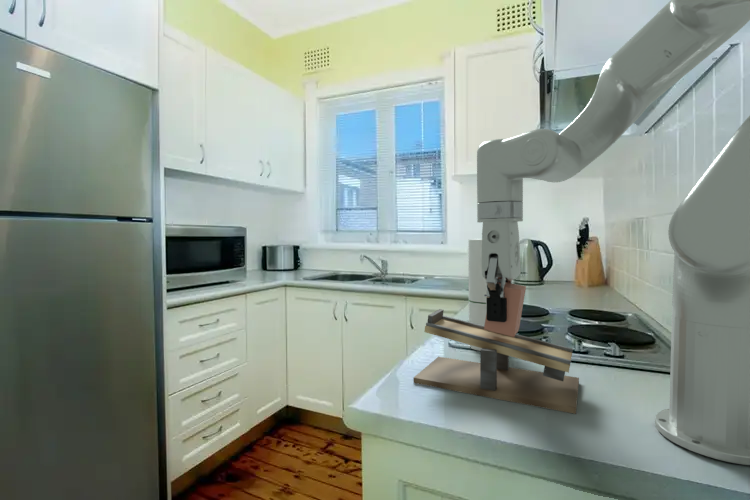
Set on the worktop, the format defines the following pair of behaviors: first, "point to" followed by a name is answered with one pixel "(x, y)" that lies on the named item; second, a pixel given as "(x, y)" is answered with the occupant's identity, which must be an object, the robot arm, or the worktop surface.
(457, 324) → the beam
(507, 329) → the block
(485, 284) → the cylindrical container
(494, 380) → the stand
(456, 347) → the worktop surface
